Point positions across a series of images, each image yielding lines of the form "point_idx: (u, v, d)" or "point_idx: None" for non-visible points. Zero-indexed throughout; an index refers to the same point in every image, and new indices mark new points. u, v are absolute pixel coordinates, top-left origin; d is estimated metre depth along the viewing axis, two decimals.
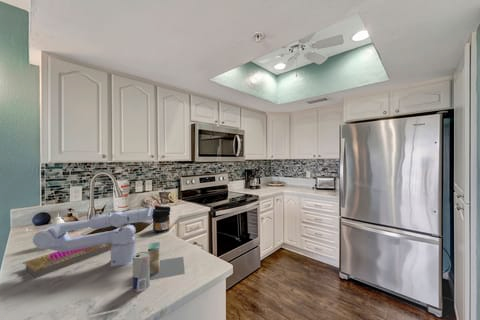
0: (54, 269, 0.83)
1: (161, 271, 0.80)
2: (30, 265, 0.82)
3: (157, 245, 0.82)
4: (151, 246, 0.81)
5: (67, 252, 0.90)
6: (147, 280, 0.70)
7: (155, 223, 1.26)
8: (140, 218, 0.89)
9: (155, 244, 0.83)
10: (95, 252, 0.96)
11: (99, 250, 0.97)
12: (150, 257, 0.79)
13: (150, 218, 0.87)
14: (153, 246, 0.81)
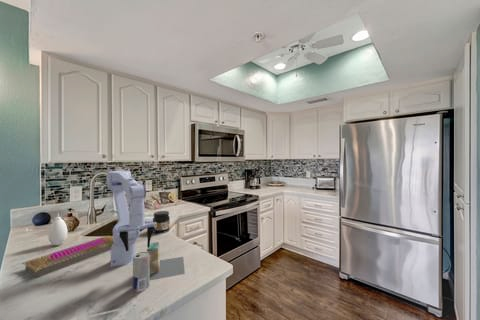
0: (55, 269, 0.83)
1: (161, 271, 0.80)
2: (30, 265, 0.82)
3: (156, 245, 0.82)
4: (150, 246, 0.81)
5: (67, 252, 0.90)
6: (147, 280, 0.70)
7: None
8: None
9: (154, 244, 0.83)
10: (95, 252, 0.96)
11: (99, 250, 0.98)
12: (149, 257, 0.78)
13: None
14: (152, 246, 0.81)
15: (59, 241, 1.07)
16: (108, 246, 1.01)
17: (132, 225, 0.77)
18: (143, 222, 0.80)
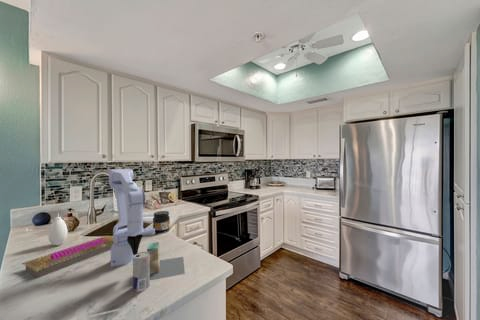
0: (55, 269, 0.83)
1: (161, 271, 0.80)
2: (30, 265, 0.81)
3: (156, 245, 0.82)
4: (150, 246, 0.81)
5: (67, 252, 0.90)
6: (147, 280, 0.70)
7: (155, 223, 1.26)
8: None
9: (154, 244, 0.83)
10: (95, 252, 0.96)
11: (99, 250, 0.98)
12: (150, 257, 0.78)
13: None
14: (152, 246, 0.81)
15: (59, 241, 1.07)
16: (108, 246, 1.02)
17: (130, 231, 0.77)
18: (141, 228, 0.79)
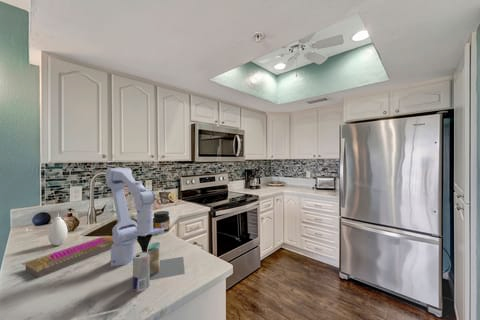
0: (56, 269, 0.83)
1: (161, 271, 0.80)
2: (31, 266, 0.81)
3: (157, 245, 0.82)
4: (151, 246, 0.81)
5: (68, 252, 0.90)
6: (147, 280, 0.70)
7: (155, 223, 1.26)
8: None
9: (155, 244, 0.83)
10: (96, 251, 0.96)
11: (99, 249, 0.98)
12: (150, 257, 0.79)
13: None
14: (153, 246, 0.81)
15: (59, 241, 1.07)
16: (108, 246, 1.02)
17: (139, 231, 0.78)
18: (151, 228, 0.80)
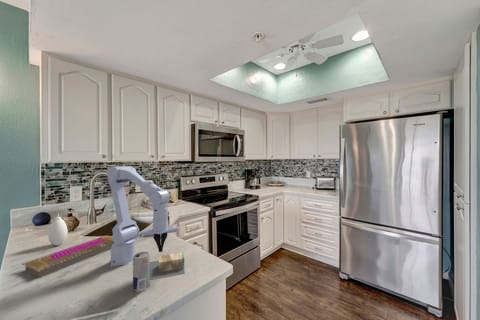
0: (57, 269, 0.83)
1: None
2: (31, 266, 0.81)
3: None
4: (183, 258, 0.85)
5: (68, 252, 0.90)
6: (147, 280, 0.70)
7: None
8: None
9: None
10: (96, 251, 0.97)
11: (99, 249, 0.98)
12: (175, 261, 0.82)
13: None
14: None
15: (59, 241, 1.07)
16: (108, 245, 1.02)
17: (156, 229, 0.80)
18: (166, 227, 0.82)
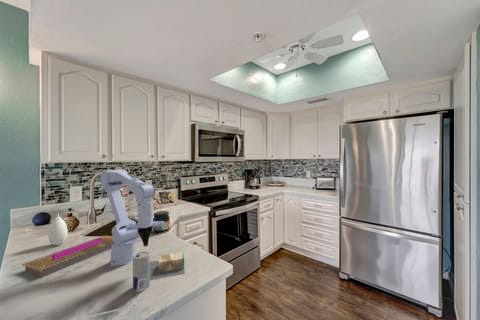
0: (58, 269, 0.83)
1: None
2: (31, 266, 0.81)
3: None
4: (183, 258, 0.85)
5: (68, 252, 0.90)
6: (147, 280, 0.70)
7: None
8: None
9: None
10: (96, 251, 0.97)
11: (100, 249, 0.99)
12: (175, 261, 0.82)
13: None
14: None
15: (59, 241, 1.07)
16: (108, 245, 1.03)
17: (140, 223, 0.80)
18: (151, 221, 0.82)
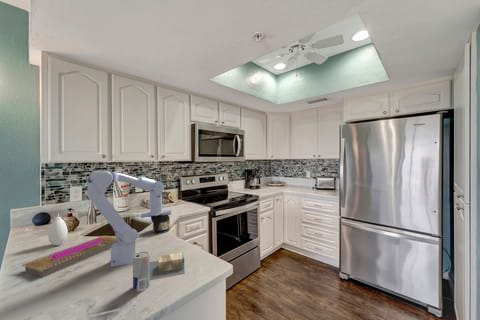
0: (59, 269, 0.83)
1: None
2: (32, 266, 0.81)
3: None
4: (183, 258, 0.85)
5: (68, 252, 0.90)
6: (147, 280, 0.70)
7: None
8: None
9: None
10: (96, 251, 0.97)
11: (100, 249, 0.99)
12: (175, 261, 0.82)
13: (141, 216, 0.99)
14: None
15: (59, 241, 1.07)
16: (108, 245, 1.03)
17: (153, 212, 0.99)
18: (161, 210, 1.01)
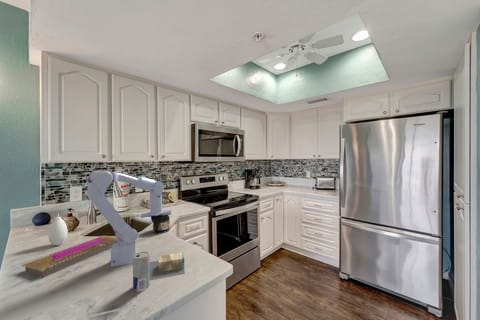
0: (59, 268, 0.83)
1: None
2: (32, 266, 0.81)
3: None
4: (183, 258, 0.85)
5: (69, 252, 0.90)
6: (147, 280, 0.70)
7: None
8: None
9: None
10: (96, 251, 0.97)
11: (100, 249, 0.99)
12: (175, 261, 0.82)
13: (141, 216, 0.99)
14: None
15: (59, 241, 1.07)
16: (108, 245, 1.03)
17: (153, 212, 0.99)
18: (161, 210, 1.01)
